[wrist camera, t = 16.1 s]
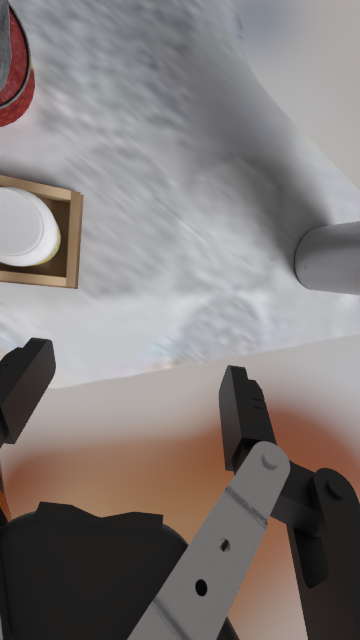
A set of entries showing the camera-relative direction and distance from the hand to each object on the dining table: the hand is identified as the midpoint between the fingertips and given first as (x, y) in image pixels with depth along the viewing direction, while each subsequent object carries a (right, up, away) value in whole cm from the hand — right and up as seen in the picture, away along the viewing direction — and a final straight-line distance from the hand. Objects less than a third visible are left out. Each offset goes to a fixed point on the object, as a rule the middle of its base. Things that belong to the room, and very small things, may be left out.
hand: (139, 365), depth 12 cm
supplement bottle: (-12, +10, +13) cm, 21 cm away
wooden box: (-13, +10, +14) cm, 22 cm away
